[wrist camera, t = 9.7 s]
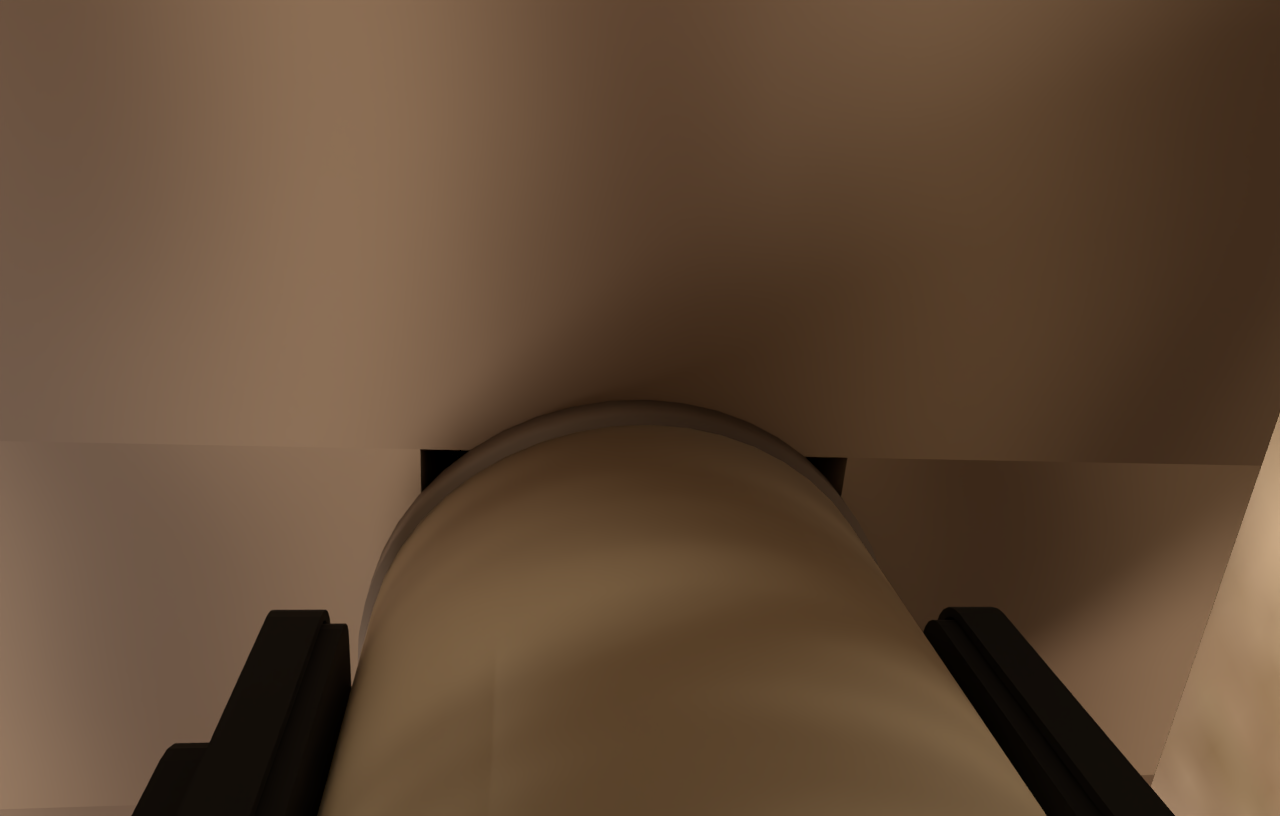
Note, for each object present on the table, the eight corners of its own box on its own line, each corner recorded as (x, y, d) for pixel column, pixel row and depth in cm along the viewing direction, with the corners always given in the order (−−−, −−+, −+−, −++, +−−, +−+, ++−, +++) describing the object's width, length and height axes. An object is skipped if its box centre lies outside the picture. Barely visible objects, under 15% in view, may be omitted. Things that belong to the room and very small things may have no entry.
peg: (807, 308, 15) (1486, 942, 4) (760, 639, 17) (1131, 1579, 7) (403, 291, 14) (40, 1028, 4) (410, 642, 16) (204, 1723, 6)
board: (1254, -478, 12) (1695, -793, 8) (959, 732, 19) (1095, 947, 15) (-57, -702, 10) (-544, -1330, 6) (154, 750, 17) (18, 1007, 13)
